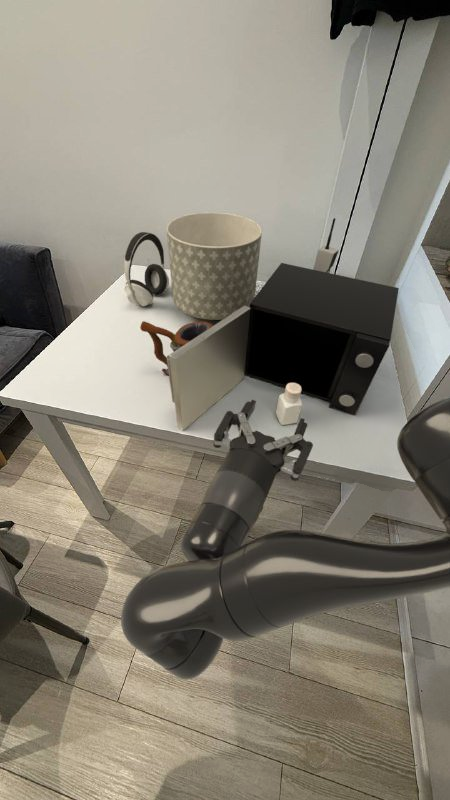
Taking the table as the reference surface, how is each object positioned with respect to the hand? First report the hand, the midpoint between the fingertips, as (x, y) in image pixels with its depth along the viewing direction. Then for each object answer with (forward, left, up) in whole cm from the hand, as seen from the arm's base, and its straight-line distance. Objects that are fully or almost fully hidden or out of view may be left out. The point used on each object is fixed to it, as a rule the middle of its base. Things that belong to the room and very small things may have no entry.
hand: (277, 412), depth 54 cm
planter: (+34, -46, -15) cm, 59 cm away
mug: (+27, -14, -15) cm, 34 cm away
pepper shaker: (0, -12, -15) cm, 19 cm away
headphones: (+55, -42, -15) cm, 71 cm away
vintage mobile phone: (+6, -66, -15) cm, 68 cm away
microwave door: (+18, -10, -14) cm, 25 cm away
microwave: (0, -31, -15) cm, 34 cm away
